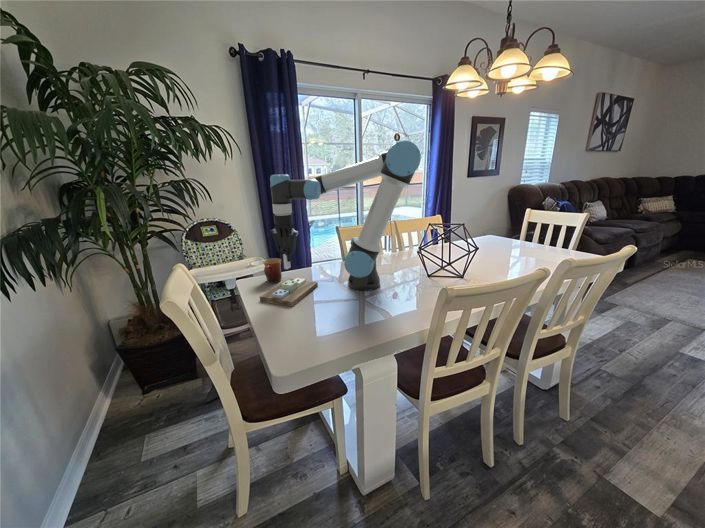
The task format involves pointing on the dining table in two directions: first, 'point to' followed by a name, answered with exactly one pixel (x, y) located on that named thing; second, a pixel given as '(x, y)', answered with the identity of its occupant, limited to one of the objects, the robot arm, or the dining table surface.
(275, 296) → the tile three
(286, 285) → the tile two
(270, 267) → the mug
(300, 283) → the tile one
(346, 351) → the dining table surface
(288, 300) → the board
